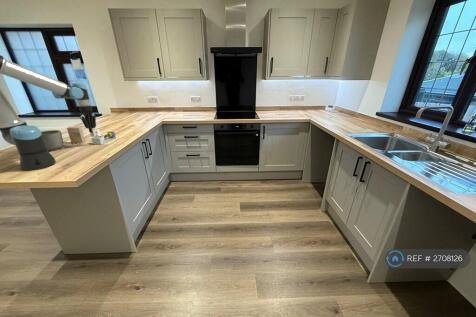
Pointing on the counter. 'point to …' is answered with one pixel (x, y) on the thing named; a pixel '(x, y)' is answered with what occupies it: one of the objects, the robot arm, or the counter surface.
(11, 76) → the robot arm
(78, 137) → the supplement box
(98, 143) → the cord rig
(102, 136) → the marker sleeve
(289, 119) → the counter surface
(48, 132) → the planter
